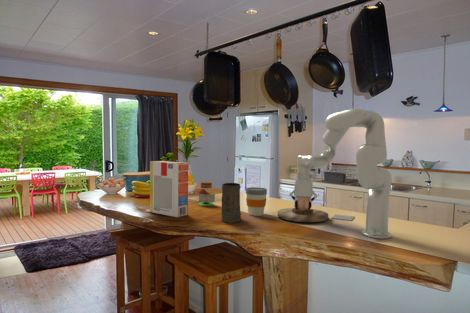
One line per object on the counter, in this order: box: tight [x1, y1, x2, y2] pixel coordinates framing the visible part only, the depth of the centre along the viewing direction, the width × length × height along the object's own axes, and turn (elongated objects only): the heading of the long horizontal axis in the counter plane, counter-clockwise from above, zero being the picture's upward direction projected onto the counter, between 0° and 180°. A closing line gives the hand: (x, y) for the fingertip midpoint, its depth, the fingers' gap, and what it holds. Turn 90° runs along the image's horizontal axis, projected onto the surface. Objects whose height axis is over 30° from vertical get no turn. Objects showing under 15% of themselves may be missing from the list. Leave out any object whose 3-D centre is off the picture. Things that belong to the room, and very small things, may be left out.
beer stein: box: [220, 182, 242, 224], centre depth 181 cm, size 15×11×20 cm
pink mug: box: [297, 197, 309, 211], centre depth 188 cm, size 9×6×9 cm
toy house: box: [197, 181, 216, 207], centre depth 225 cm, size 12×13×15 cm
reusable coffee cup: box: [245, 186, 268, 217], centre depth 198 cm, size 13×13×15 cm
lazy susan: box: [277, 206, 329, 223], centre depth 189 cm, size 28×28×6 cm
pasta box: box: [149, 160, 189, 218], centre depth 195 cm, size 23×8×30 cm, turn 56°
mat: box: [330, 214, 355, 222], centre depth 192 cm, size 11×11×1 cm
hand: (303, 208), depth 189 cm, fingers closed on pink mug, 6 cm apart
